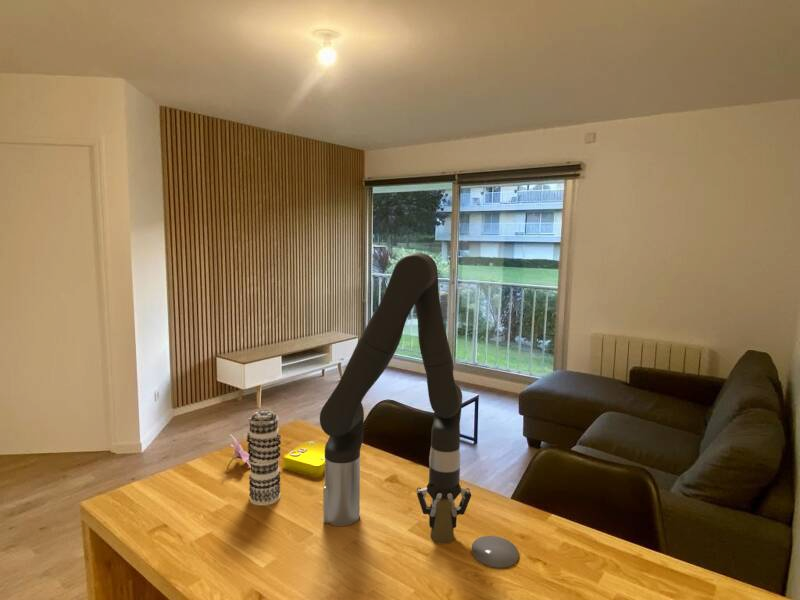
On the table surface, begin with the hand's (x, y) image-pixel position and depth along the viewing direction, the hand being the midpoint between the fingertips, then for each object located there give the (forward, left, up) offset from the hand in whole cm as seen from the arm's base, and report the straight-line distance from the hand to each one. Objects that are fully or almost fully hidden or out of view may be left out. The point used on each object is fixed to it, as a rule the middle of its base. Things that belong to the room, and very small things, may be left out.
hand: (442, 527), depth 120 cm
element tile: (-39, +38, -3) cm, 54 cm away
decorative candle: (-49, +17, -2) cm, 52 cm away
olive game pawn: (0, 0, -2) cm, 2 cm away
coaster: (+12, -6, -2) cm, 14 cm away
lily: (-62, +35, -3) cm, 71 cm away
